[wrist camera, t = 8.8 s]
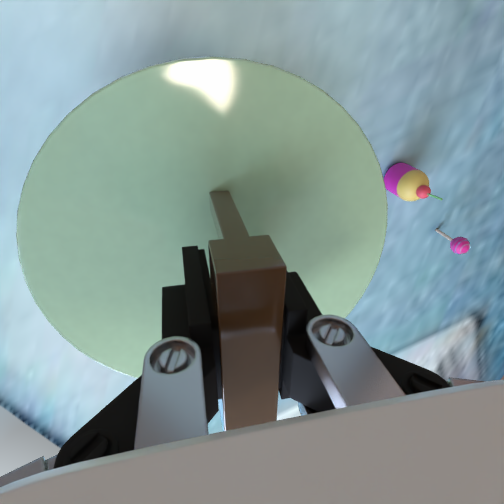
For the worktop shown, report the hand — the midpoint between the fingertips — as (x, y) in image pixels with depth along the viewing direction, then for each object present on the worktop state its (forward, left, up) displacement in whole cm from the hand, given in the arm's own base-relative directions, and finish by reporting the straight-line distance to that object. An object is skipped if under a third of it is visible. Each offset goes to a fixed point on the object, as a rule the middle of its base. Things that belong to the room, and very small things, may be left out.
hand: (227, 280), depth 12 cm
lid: (0, 0, -2) cm, 2 cm away
